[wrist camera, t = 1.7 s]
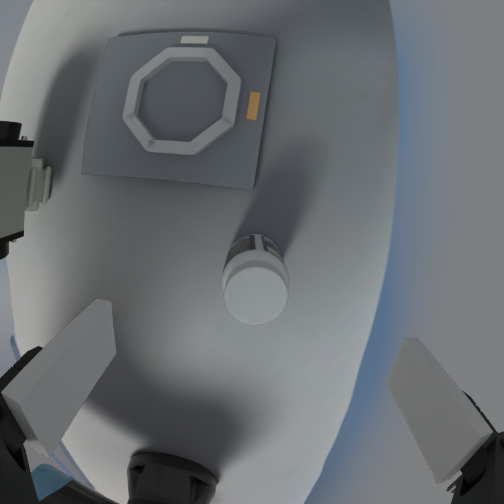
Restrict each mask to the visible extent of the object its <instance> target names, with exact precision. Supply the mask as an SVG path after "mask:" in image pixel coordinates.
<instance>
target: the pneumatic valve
mask: <svg viewBox="0 0 504 504" xmlns="http://www.w3.org/2000/svg"><path fill="white" fill-rule="evenodd" d="M21 127H22V123H18V122H9V121H0V259H3V258H5V257H6V256H7V255H8V254H9V241H11V242H16V239H18V238H20V237H23V236H24V217H25V211H35V210H37V209H38V208H39V201H41V203H42V204H45V203H46V202H47V200H48V199H49V190H50V183H51V176H52V170H51V167H50V166H46V168H45V169H44V162H45V160H44V159H42V158H31V156H32V151H33V148H32V147H33V145H34V141H29V140H27V136H22V139H21V140H19V136H20V131H21Z"/></svg>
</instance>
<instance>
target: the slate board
mask: <svg viewBox="0 0 504 504" xmlns="http://www.w3.org/2000/svg"><path fill="white" fill-rule="evenodd" d="M276 39H277V38H271V37H264V36H256V35H247V34H236V33H221V32H163V33H148V34H137V35H128V36H120V37H113V38H109V40H108V43H107V46H106V49H105V53H104V56H103V60H102V63H101V67H100V70H99V74H98V78H97V82H96V86H95V91H94V95H93V100H92V104H91V110H90V115H89V120H88V126H87V132H86V139H85V146H84V154H83V163H82V173H81V174H82V175H103V176H120V177H134V178H146V179H158V180H169V181H179V182H188V183H197V184H206V185H214V186H222V187H230V188H238V189H245V190H252V191H253V188H254V182H255V175H256V168H257V162H258V155H259V148H260V142H261V135H262V129H263V122H264V116H265V109H266V103H267V96H268V90H269V83H270V77H271V71H272V64H273V58H274V52H275V46H276Z"/></svg>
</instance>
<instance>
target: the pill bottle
mask: <svg viewBox="0 0 504 504" xmlns="http://www.w3.org/2000/svg"><path fill="white" fill-rule="evenodd" d="M221 283H222V290H223V293H224V301H225V304H226V307H227V309H228V311H229V312H230V314H231V315H232V316H233V317H234V318H236V319H237V320H239V321H241V322H243V323H246V324H249V325H262V324H266V323H269V322H271V321H273V320H275V319H276V318H277V317H279V316H280V314H281V313H282V312H283V311H284V309H285V307H286V305H287V301H288V289H289V275H288V271H287V268H286V266H285V264H284V261H283V259H282V256H281V254H280V251H279V249H278V247H277V246H276V244H275V243H274V242H273V241H272V240H271V239H269V238H268V237H266V236H263V235H259V234H248V235H245V236H242V237H240V238H239V239H238V240H236V241H235V242H234V243H233V245H232V246H231V248H230V250H229V252H228V256H227V259H226V263H225V267H224V270H223V274H222V279H221Z"/></svg>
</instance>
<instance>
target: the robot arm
mask: <svg viewBox="0 0 504 504" xmlns="http://www.w3.org/2000/svg"><path fill="white" fill-rule="evenodd" d="M115 355H116V345H115V336H114V326H113V315H112V302H111V301H106V300H102V299H98V298H96V299H95V300H94V301H93V302H92V303H91V304H90V305H89V306H87V307H86V308H85V309H84V310H83V311H82V312H81V313H80V314H79V315H78V316H77V317H75V318H74V319H73V320H72V321H71V322H70V323H69V324H68V325H67V326H66V327H65V328H64V329H63V330H62V331H61V332H59V333H58V334H57V335H56V336H55V337H54V338H53V339H52V340H51V341H50V342H49V343H48V344H47V345H46V346H45V347H44V348H42V347H39V346H38V347H36V348H33V349H31V350H29V351H27V352H26V353H25V354H24V355H23V356H22V357H21V358H20V360H19V361H17V362H16V363H15V364H14V365H13V367H11V368H10V369H9V370H8V371H7V372H6V373H5V374H4V375H3V376H2V377H1V378H0V504H119V503H117V502H115V501H113V500H111V499H109V498H107V497H105V496H103V495H101V494H99V493H97V492H95V491H94V490H92V489H90V488H88V487H86V486H85V485H83V484H81V483H80V482H78V481H76V480H75V479H74V477H72V476H68V475H67V474H65V473H63V472H62V471H60V470H59V469H57V468H55V467H54V466H52V465H50V464H41V465H39V466H37V467H36V468H35V469H34V470H33V471H32V472H30V468H29V464H28V459H27V455H26V450H25V448H24V445H23V443H24V442H25V440H26V439H27V440H28V442H29V443H30V445H31V446H32V448H33V449H35V450H37V451H38V452H40V453H42V454H43V455H45V456H47V457H49V458H50V457H51V456H52V454H53V452H54V451H55V449H56V447H57V446H58V444H59V442H60V440H61V439H62V437H63V435H64V434H65V432H66V430H67V429H68V427H69V426H70V424H71V422H72V421H73V419H74V417H75V416H76V414H77V413H78V411H79V409H80V408H81V406H82V405H83V403H84V402H85V400H86V398H87V397H88V395H89V394H90V392H91V391H92V389H93V388H94V386H95V385H96V383H97V382H98V380H99V379H100V377H101V376H102V374H103V373H104V371H105V370H106V368H107V367H108V365H109V364H110V362H111V361H112V359H113V358H114V356H115ZM385 384H386V386H387V387H388V389H389V391H390V393H391V394H392V396H393V398H394V400H395V402H396V404H397V405H398V407H399V409H400V411H401V413H402V415H403V417H404V419H405V421H406V423H407V425H408V426H409V428H410V430H411V432H412V434H413V436H414V438H415V440H416V442H417V444H418V446H419V448H420V450H421V452H422V454H423V456H424V458H425V460H426V462H427V464H428V466H429V469H430V470H431V473H432V475H433V477H434V479H435V481H436V483H437V484H438V483H441V482H444V481H446V480H449V479H451V478H452V477H453V476H454V475H455V474H456V473H457V472H458V471H459V470H461V472H462V475H461V476H460V477H459V478H457V480H456V481H454V482H453V483H452V484H451V485H450V486H449V487H448V489H447V490H446V491H449V490H451V489H452V488H453V487H454V486H456V488H455V489H454V490H453V491H452V493H454V495H453V499H452V502H451V504H504V432H501V433H499V434H498V432H497V431H496V430H495V429H494V427H493V426H492V425H491V423H490V422H489V420H488V419H487V418H486V416H485V415H484V414H483V412H480V408H479V407H478V406H476V403H475V402H474V401H473V399H472V398H471V397H470V396H469V395H468V394H466V393H465V392H464V391H462V390H461V389H460V387H459V386H458V385H457V384H456V382H455V381H454V380H453V379H452V377H450V375H449V374H448V373H447V371H446V370H445V369H444V368H443V366H442V365H441V364H440V363H439V362H438V361H437V360H436V358H435V357H434V356H433V355H432V353H431V352H430V351H429V350H428V349H427V348H426V346H425V345H424V344H423V343H422V342H421V341H420V340H419V338H405V340H404V343H403V345H402V347H401V350H400V352H399V354H398V357H397V359H396V361H395V363H394V366H393V368H392V370H391V372H390V374H389V376H388V378H387V380H386V382H385ZM127 478H128V491H129V500H128V503H127V504H209V503H210V501H211V500H212V498H213V496H214V494H215V491H216V479H215V477H214V475H213V474H212V473H211V472H209V471H208V470H207V469H205V468H203V467H202V466H200V465H198V464H196V463H193V462H191V461H188V460H185V459H182V458H179V457H175V456H171V455H166V454H160V453H140V454H137V455H135V456H133V457H132V458H131V460H130V462H129V465H128V468H127Z"/></svg>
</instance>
